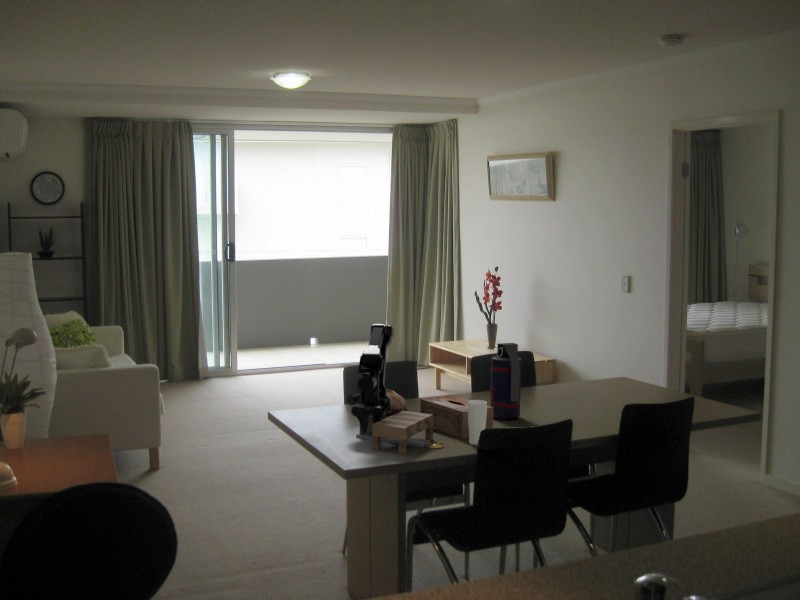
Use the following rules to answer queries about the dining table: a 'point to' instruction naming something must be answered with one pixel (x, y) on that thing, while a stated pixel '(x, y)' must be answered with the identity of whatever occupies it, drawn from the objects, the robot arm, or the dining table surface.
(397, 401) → the bread
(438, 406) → the tissue box cover
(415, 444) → the blade tool
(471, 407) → the drinking glass
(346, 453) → the dining table surface
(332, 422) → the dining table surface
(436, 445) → the brass token
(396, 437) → the wooden footstool
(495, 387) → the grenade
